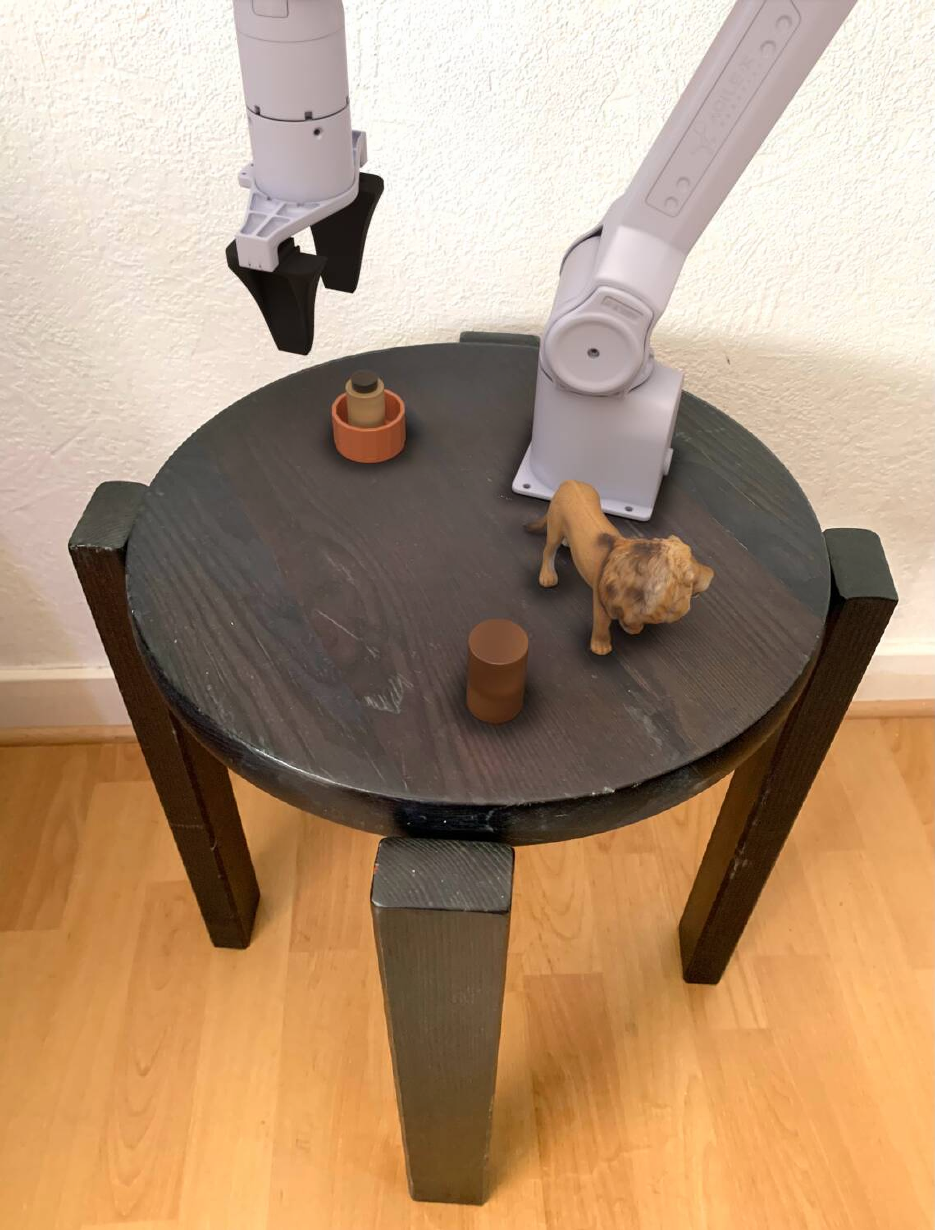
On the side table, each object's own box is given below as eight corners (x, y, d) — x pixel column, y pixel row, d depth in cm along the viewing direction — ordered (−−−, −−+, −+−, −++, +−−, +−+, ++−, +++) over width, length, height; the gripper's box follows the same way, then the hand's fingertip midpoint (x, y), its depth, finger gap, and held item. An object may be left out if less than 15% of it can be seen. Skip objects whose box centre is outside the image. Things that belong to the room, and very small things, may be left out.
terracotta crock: (415, 427, 75) (414, 395, 73) (391, 469, 72) (389, 437, 70) (350, 413, 76) (348, 381, 74) (323, 454, 73) (320, 422, 71)
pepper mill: (391, 430, 74) (389, 370, 71) (377, 451, 73) (374, 392, 69) (358, 422, 75) (354, 362, 71) (343, 443, 73) (338, 383, 69)
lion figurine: (703, 661, 61) (736, 550, 54) (633, 700, 59) (658, 590, 52) (553, 516, 69) (566, 405, 62) (487, 546, 67) (493, 434, 60)
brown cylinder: (529, 687, 59) (535, 626, 56) (514, 730, 57) (519, 670, 54) (475, 673, 60) (478, 612, 56) (458, 715, 58) (460, 655, 54)
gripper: (285, 44, 63) (306, 254, 73) (168, 143, 53) (210, 367, 64) (395, 60, 62) (401, 271, 72) (295, 164, 52) (318, 390, 62)
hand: (318, 318), depth 67 cm, fingers open, 7 cm apart
